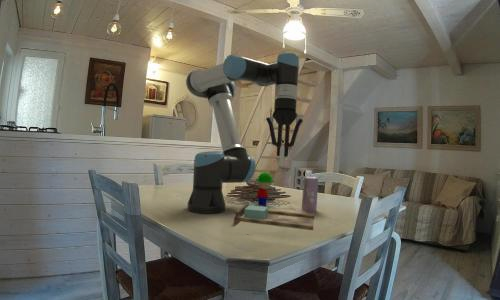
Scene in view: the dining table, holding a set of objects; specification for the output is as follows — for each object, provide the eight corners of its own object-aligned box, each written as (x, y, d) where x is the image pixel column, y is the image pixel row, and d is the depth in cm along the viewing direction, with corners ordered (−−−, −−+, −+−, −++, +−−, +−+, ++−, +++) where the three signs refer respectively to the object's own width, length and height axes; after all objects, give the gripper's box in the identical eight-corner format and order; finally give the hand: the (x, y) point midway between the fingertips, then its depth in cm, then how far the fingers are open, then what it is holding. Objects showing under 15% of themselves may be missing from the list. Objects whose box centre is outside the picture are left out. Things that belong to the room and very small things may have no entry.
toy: (267, 208, 126) (269, 173, 126) (251, 205, 130) (253, 172, 130) (275, 206, 133) (277, 172, 132) (260, 203, 137) (262, 171, 136)
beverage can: (315, 212, 124) (317, 176, 124) (317, 215, 119) (319, 178, 118) (301, 211, 125) (303, 175, 125) (302, 214, 119) (304, 177, 119)
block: (244, 217, 103) (244, 208, 103) (249, 213, 110) (249, 205, 110) (263, 219, 101) (264, 211, 101) (267, 215, 108) (267, 207, 108)
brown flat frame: (234, 224, 99) (234, 212, 99) (246, 213, 115) (246, 203, 115) (312, 234, 93) (313, 221, 93) (314, 221, 109) (314, 210, 108)
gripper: (265, 96, 101) (261, 165, 101) (304, 97, 98) (299, 168, 98) (269, 99, 108) (265, 163, 109) (305, 100, 105) (301, 166, 105)
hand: (281, 165), depth 103 cm, fingers closed
